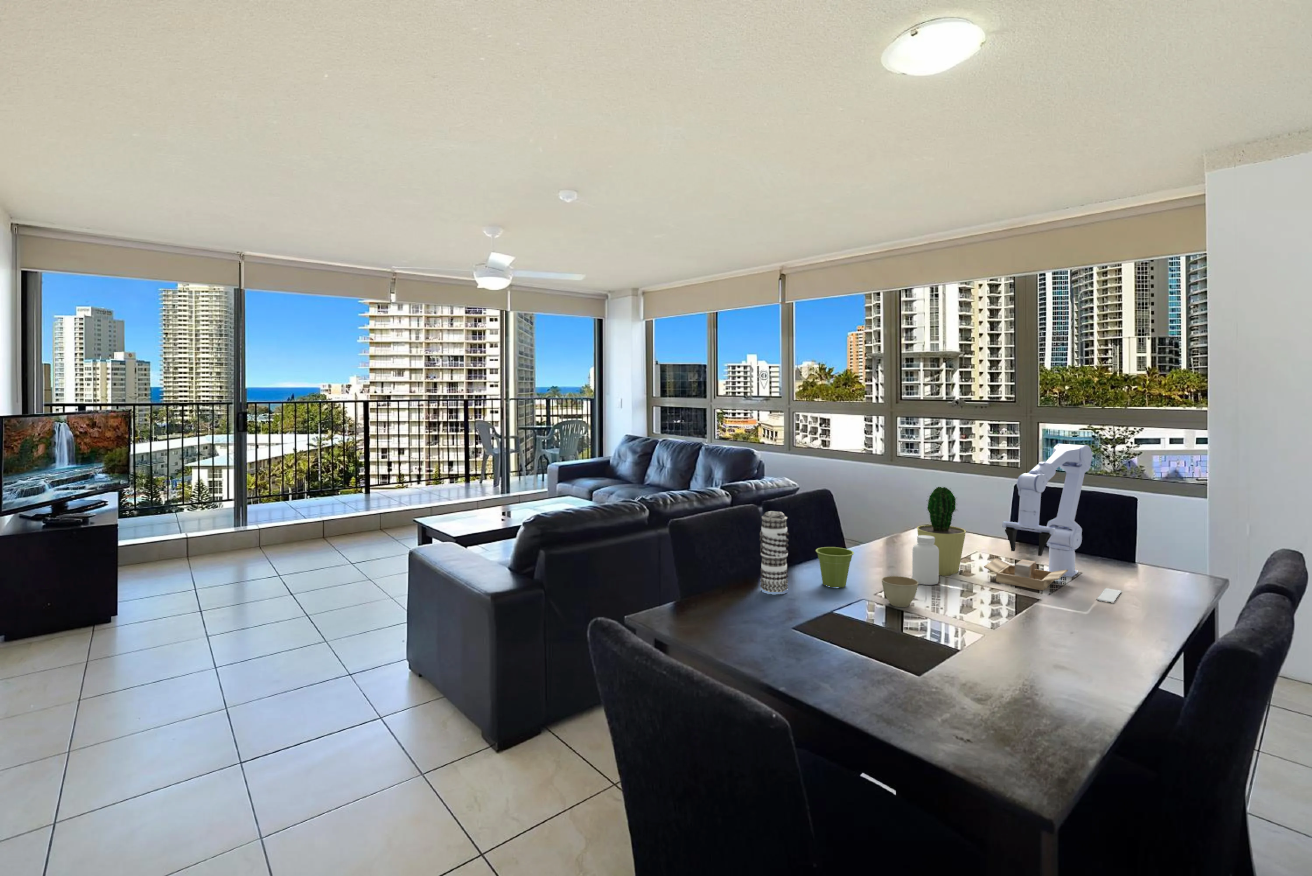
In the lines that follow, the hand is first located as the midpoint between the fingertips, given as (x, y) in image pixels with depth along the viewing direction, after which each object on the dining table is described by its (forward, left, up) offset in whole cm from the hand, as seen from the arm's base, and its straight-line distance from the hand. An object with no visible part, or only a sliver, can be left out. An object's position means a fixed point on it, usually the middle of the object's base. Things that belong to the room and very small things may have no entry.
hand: (1026, 553), depth 200 cm
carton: (0, 0, -10) cm, 10 cm away
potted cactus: (+4, -25, -10) cm, 27 cm away
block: (0, 0, -9) cm, 9 cm away
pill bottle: (+20, -24, -10) cm, 33 cm away
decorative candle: (+61, -55, -10) cm, 83 cm away
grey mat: (-2, +18, -10) cm, 20 cm away
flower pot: (+47, -21, -10) cm, 52 cm away
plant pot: (+43, -44, -10) cm, 62 cm away
